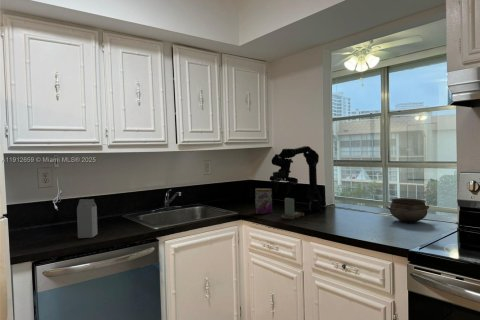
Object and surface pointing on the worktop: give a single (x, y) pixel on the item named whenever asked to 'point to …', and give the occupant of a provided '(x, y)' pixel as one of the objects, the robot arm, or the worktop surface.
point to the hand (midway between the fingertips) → (281, 193)
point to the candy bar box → (263, 201)
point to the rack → (292, 216)
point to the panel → (289, 206)
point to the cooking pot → (408, 209)
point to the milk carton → (87, 218)
